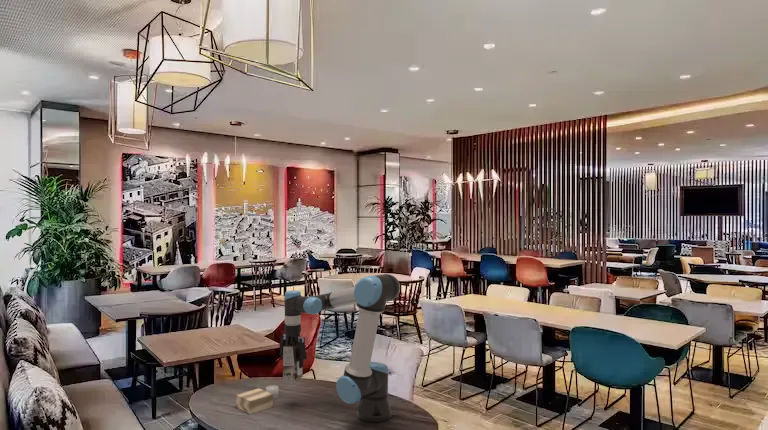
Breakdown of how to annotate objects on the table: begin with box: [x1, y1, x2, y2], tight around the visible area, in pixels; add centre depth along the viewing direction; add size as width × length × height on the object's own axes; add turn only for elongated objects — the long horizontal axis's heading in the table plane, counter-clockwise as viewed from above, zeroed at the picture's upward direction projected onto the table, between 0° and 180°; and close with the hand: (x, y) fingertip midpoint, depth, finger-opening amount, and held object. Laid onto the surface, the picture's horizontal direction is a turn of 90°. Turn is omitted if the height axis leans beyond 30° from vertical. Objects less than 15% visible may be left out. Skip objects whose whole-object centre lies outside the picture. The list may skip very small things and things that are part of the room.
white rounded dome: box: [265, 384, 279, 401], centre depth 236 cm, size 6×6×5 cm
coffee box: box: [282, 344, 303, 383], centre depth 227 cm, size 9×6×16 cm
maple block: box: [235, 387, 274, 415], centre depth 224 cm, size 12×12×6 cm
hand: (292, 373), depth 227 cm, fingers closed on coffee box, 8 cm apart
